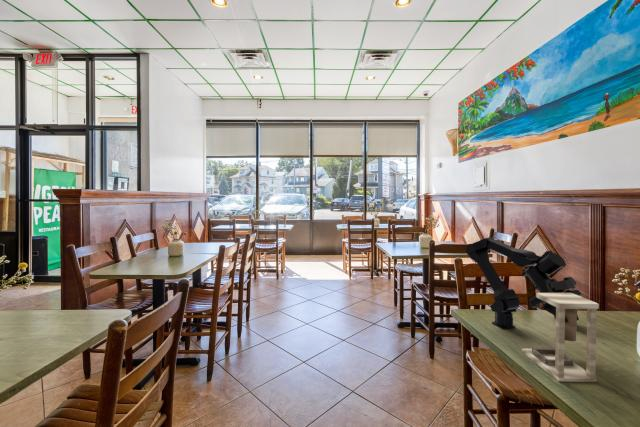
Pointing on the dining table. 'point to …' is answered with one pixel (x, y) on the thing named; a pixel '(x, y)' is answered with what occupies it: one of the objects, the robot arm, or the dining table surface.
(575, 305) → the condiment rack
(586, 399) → the dining table surface
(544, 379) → the dining table surface
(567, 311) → the pepper mill
